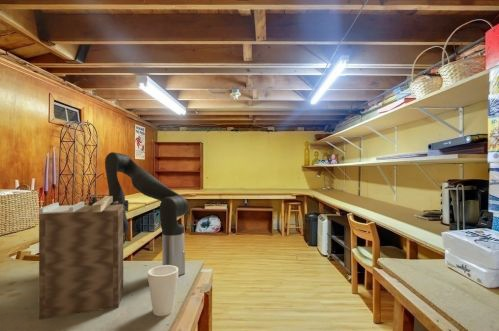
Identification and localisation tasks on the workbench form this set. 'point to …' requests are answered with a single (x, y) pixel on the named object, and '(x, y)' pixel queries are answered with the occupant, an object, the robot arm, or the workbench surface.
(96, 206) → the beige wooden rod
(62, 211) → the trough
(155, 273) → the foam cup
